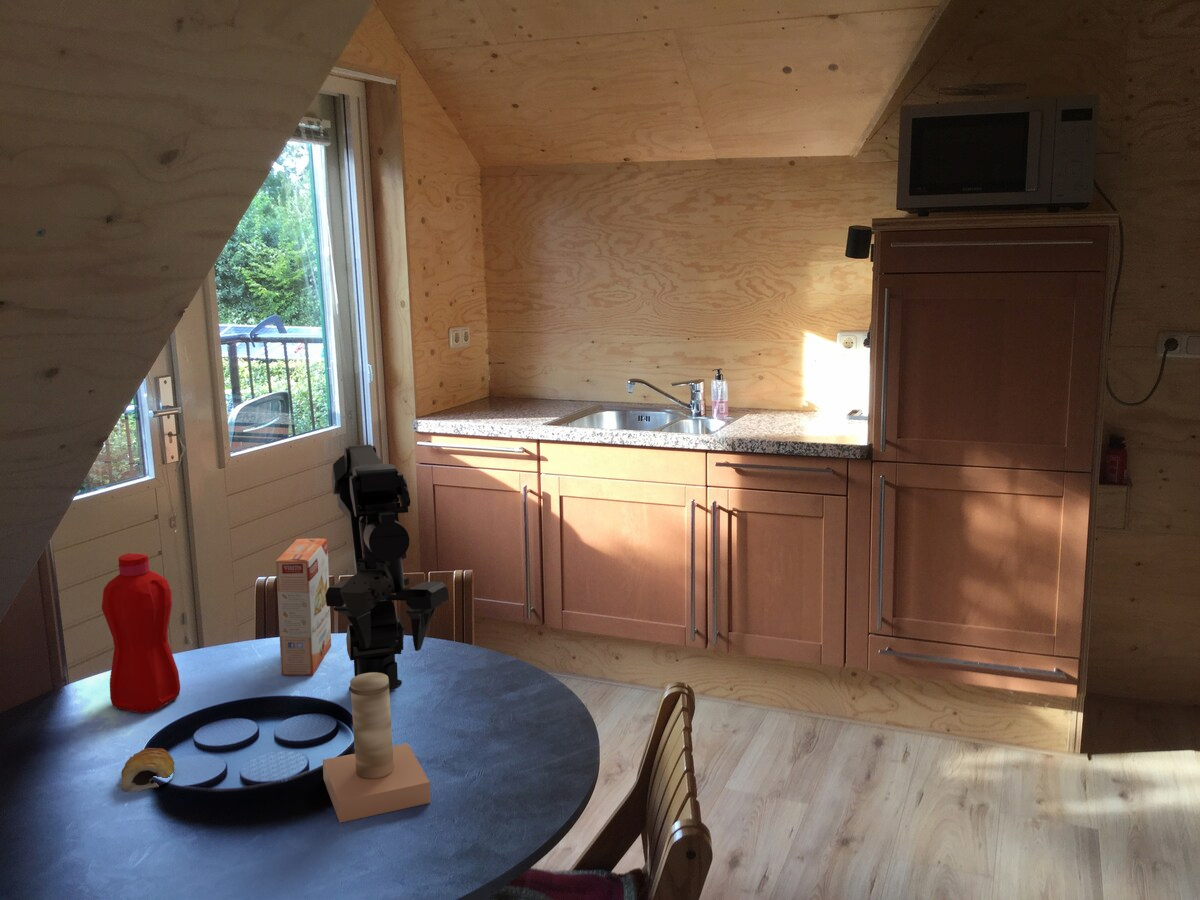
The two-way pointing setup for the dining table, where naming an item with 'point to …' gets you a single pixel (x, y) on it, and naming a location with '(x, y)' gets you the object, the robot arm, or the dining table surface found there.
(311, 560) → the cracker box
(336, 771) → the terracotta plinth
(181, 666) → the dining table surface
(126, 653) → the red bottle
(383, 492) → the robot arm
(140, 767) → the pastry
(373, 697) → the birch column
